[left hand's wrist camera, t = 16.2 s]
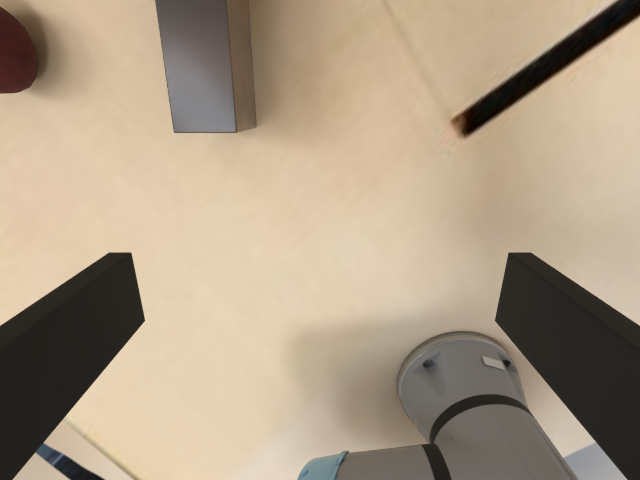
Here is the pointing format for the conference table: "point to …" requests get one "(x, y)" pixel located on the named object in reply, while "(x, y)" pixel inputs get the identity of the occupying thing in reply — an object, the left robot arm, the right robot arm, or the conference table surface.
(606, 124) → the conference table surface
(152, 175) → the conference table surface
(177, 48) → the walnut beam
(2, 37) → the dark red ball
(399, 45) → the conference table surface
